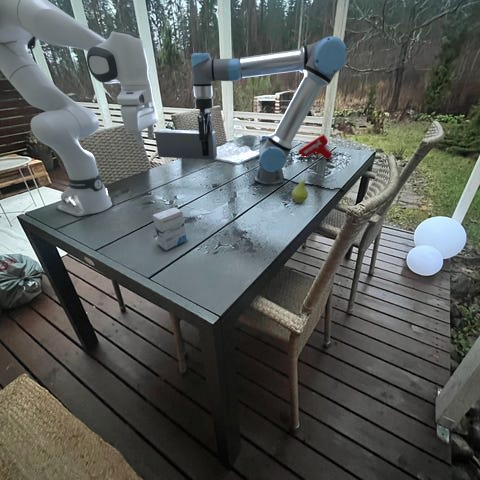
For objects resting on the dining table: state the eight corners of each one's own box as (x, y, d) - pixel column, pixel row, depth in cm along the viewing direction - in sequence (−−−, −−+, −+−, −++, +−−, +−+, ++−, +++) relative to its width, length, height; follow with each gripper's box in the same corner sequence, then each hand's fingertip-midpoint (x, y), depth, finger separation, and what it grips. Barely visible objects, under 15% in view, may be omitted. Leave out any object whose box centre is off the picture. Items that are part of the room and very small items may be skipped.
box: (217, 156, 129) (215, 131, 123) (213, 159, 124) (212, 133, 118) (163, 153, 133) (159, 129, 127) (158, 157, 128) (154, 132, 122)
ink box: (179, 235, 98) (174, 206, 91) (187, 241, 95) (183, 210, 88) (158, 245, 93) (151, 214, 86) (165, 250, 90) (159, 219, 83)
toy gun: (335, 153, 174) (324, 133, 170) (335, 155, 171) (323, 134, 167) (310, 168, 184) (299, 149, 180) (310, 170, 181) (298, 151, 177)
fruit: (288, 200, 123) (290, 174, 116) (302, 197, 125) (305, 172, 119) (296, 206, 118) (299, 179, 111) (310, 203, 120) (314, 177, 114)
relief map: (237, 164, 168) (237, 156, 165) (197, 155, 185) (196, 147, 183) (261, 154, 186) (262, 147, 183) (222, 147, 204) (222, 140, 201)
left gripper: (140, 92, 93) (148, 135, 101) (113, 99, 76) (125, 149, 84) (158, 92, 93) (164, 135, 100) (135, 99, 76) (145, 149, 83)
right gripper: (201, 95, 122) (205, 148, 134) (187, 100, 106) (193, 159, 119) (217, 95, 121) (220, 148, 133) (205, 100, 105) (210, 160, 117)
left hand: (146, 141), depth 92 cm, fingers open, 8 cm apart
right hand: (207, 153), depth 126 cm, fingers closed on box, 6 cm apart
